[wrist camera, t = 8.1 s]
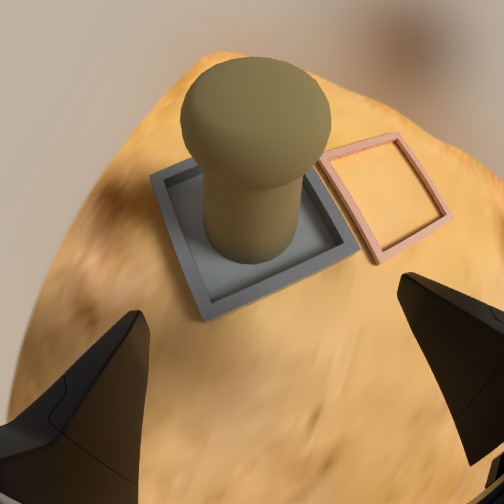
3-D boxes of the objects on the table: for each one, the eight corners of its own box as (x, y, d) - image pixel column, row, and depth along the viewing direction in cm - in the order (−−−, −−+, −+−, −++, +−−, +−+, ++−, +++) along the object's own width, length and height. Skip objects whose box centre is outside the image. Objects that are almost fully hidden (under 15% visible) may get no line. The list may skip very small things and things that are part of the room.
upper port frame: (450, 220, 19) (453, 218, 18) (377, 265, 17) (380, 263, 17) (395, 134, 21) (397, 131, 20) (315, 158, 20) (316, 154, 19)
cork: (246, 285, 17) (248, 205, 6) (185, 215, 18) (126, 86, 7) (316, 223, 18) (389, 102, 7) (254, 163, 19) (262, 24, 8)
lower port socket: (352, 255, 18) (360, 249, 16) (207, 322, 16) (203, 322, 15) (282, 138, 20) (285, 126, 19) (155, 186, 19) (149, 175, 17)
